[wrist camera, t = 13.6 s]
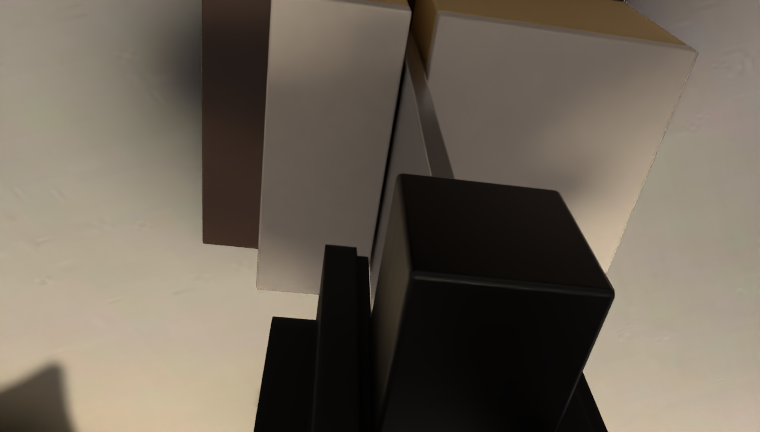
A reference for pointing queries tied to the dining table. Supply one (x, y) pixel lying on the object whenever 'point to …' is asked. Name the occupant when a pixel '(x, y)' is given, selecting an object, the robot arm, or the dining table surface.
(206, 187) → the cake board
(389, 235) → the cake knife
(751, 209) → the dining table surface
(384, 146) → the small cardboard box
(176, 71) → the dining table surface
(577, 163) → the cake
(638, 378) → the dining table surface
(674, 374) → the dining table surface
